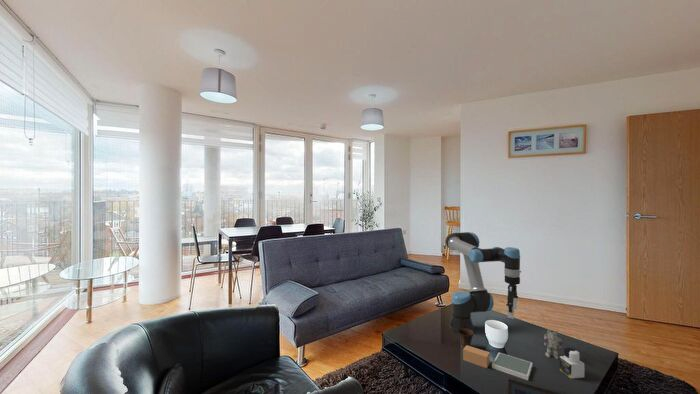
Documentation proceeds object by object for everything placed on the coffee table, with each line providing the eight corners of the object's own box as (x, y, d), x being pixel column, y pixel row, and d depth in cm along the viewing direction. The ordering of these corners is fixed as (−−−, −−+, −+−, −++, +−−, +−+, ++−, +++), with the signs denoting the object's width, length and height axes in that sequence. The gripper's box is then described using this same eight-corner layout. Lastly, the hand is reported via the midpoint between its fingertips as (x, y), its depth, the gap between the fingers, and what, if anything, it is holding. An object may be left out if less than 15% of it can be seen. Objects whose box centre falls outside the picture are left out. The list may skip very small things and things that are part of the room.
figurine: (564, 358, 156) (564, 331, 156) (556, 362, 153) (555, 334, 153) (548, 351, 164) (548, 325, 163) (540, 355, 160) (540, 328, 160)
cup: (475, 343, 173) (474, 327, 172) (474, 352, 165) (473, 336, 163) (459, 340, 177) (458, 325, 175) (458, 350, 168) (457, 334, 167)
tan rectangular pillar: (463, 360, 157) (463, 349, 157) (466, 355, 161) (466, 345, 161) (486, 368, 149) (486, 357, 149) (489, 363, 154) (489, 352, 154)
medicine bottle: (559, 369, 147) (559, 346, 147) (572, 368, 148) (572, 345, 147) (571, 378, 140) (571, 354, 140) (584, 377, 140) (584, 353, 140)
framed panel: (492, 368, 150) (491, 363, 149) (498, 355, 160) (498, 351, 160) (528, 380, 139) (528, 375, 139) (532, 366, 150) (532, 362, 150)
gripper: (517, 282, 150) (517, 323, 150) (522, 271, 170) (522, 307, 170) (500, 280, 154) (501, 319, 155) (507, 269, 174) (508, 304, 175)
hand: (512, 313), depth 162 cm, fingers open, 13 cm apart
